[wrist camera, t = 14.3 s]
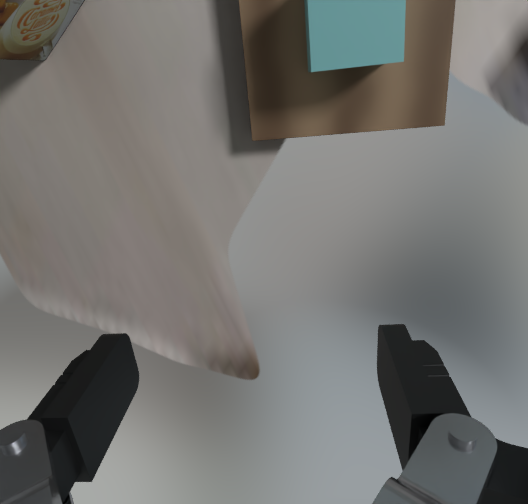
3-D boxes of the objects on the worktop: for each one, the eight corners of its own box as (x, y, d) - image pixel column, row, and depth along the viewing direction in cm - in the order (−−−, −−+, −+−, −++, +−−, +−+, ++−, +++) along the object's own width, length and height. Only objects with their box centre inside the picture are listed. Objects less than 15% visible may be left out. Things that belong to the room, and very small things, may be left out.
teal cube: (308, 72, 32) (311, 72, 27) (303, -16, 30) (305, -36, 24) (384, 63, 32) (403, 61, 26) (385, -27, 29) (407, -51, 24)
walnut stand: (255, 135, 38) (252, 140, 35) (235, -77, 31) (229, -92, 28) (432, 121, 36) (444, 125, 33) (450, -106, 30) (466, -124, 27)
